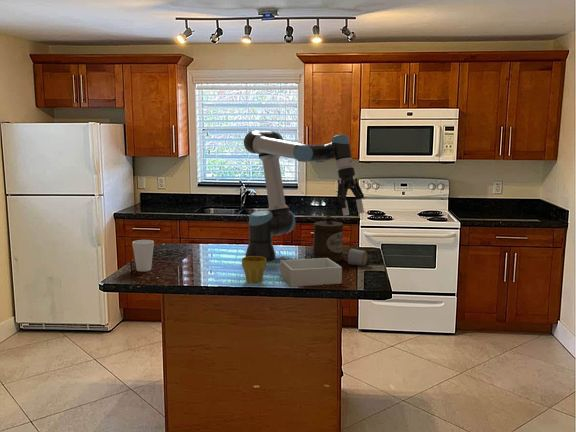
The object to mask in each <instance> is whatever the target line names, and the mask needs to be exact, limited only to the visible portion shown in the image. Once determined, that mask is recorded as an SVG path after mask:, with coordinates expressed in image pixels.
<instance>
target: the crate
mask: <svg viewBox="0 0 576 432" xmlns="http://www.w3.org/2000/svg"><path fill="white" fill-rule="evenodd" d="M279 266H280V267H279V269H280V271H279V274H280V275H279V276H280V278H282V279H283V280H284V281H285V282H286V283H287V284H288V285H289V286H290V287H302V286H303V287H305V286H306V287H307V286H308V287H309V286H323V285H324V284H325V285H337V284H338V285H339V284H342V283H343V282H342V280H343V279H342V278H343V276H342V275H343V273H342V272H343V267H342V266H341V265H340V264H338V263H336V261H335V262H333V261H332V260H330V259H328V258H317V259H313V258H302V259H296V258H295V259H281V260H280V263H279Z"/></svg>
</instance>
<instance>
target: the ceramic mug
mask: <svg viewBox="0 0 576 432" xmlns="http://www.w3.org/2000/svg"><path fill="white" fill-rule="evenodd" d="M367 261H368V253H367V251H365V250H360V249H356V248H350V249H349V251H348V255H347V264H348V265H353V266H364V267H365V266H366V264H367Z"/></svg>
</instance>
